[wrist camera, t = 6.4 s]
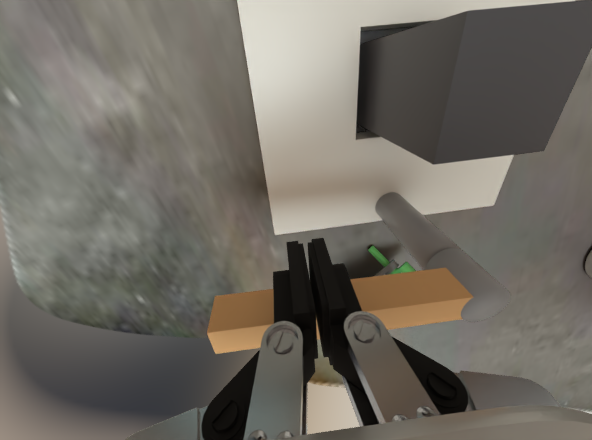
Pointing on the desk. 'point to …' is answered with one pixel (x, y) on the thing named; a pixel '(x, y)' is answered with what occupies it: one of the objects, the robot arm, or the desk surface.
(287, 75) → the socket block
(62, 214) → the desk surface
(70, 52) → the desk surface
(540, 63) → the plug
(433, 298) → the clip
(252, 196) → the desk surface
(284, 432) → the robot arm
